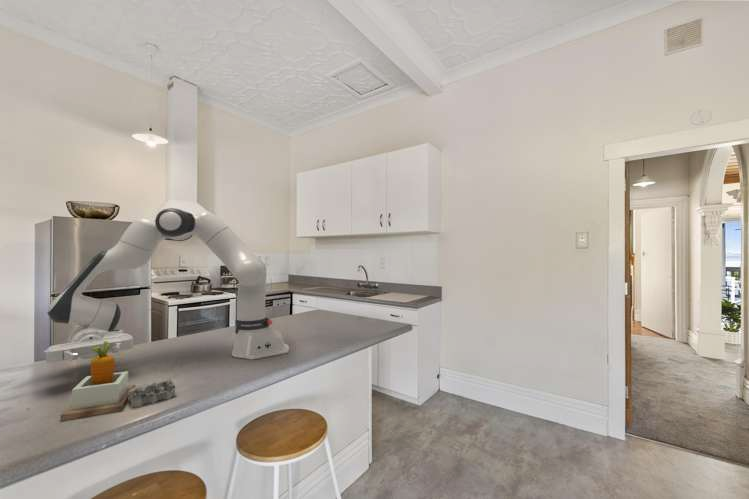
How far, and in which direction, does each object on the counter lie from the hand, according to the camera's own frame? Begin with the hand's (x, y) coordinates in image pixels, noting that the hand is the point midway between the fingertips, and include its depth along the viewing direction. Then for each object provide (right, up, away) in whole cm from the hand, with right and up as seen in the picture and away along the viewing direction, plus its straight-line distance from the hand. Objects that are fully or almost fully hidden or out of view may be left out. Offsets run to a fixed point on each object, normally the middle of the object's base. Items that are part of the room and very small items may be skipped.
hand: (95, 353), depth 94 cm
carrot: (+9, -10, -8) cm, 15 cm away
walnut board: (+9, -11, -8) cm, 16 cm away
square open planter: (+9, -10, -8) cm, 15 cm away
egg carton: (+20, -12, -4) cm, 23 cm away
